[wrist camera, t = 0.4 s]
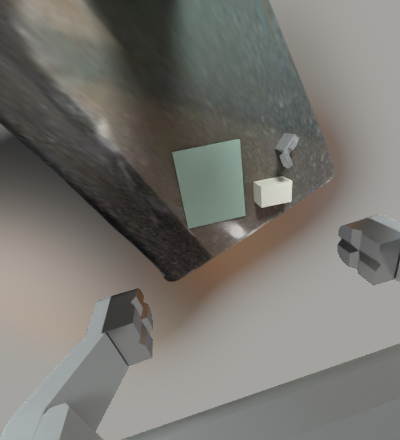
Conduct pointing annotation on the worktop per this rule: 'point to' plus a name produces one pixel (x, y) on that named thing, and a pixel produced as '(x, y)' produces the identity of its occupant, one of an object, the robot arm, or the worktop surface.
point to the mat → (211, 182)
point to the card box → (272, 191)
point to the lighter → (287, 148)
